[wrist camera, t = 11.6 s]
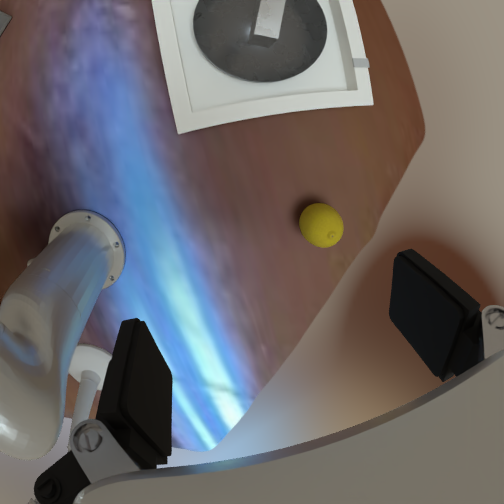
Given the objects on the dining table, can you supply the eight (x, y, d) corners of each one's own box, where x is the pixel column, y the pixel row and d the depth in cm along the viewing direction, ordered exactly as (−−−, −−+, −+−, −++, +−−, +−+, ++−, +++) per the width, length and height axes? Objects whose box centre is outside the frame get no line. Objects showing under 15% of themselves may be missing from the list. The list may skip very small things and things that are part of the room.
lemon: (301, 191, 40) (322, 208, 33) (333, 203, 42) (359, 222, 35) (286, 227, 42) (304, 250, 35) (319, 237, 44) (341, 261, 37)
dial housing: (181, 132, 34) (177, 134, 30) (151, -23, 23) (145, -39, 19) (356, 104, 36) (375, 104, 31) (323, -38, 25) (336, -52, 20)
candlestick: (124, 392, 52) (112, 524, 26) (68, 379, 49) (38, 502, 22) (124, 352, 47) (101, 508, 21) (60, 336, 44) (11, 478, 17)
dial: (312, 95, 32) (332, 92, 27) (182, 73, 29) (178, 64, 24) (329, -7, 26) (348, -22, 21) (207, -33, 23) (209, -55, 17)
